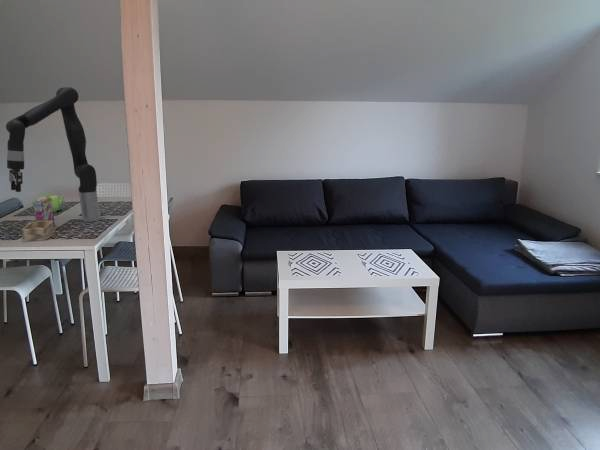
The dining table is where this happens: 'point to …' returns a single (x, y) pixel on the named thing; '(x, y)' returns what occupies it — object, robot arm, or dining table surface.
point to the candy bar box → (43, 210)
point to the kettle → (54, 201)
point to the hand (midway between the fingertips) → (15, 190)
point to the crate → (37, 231)
